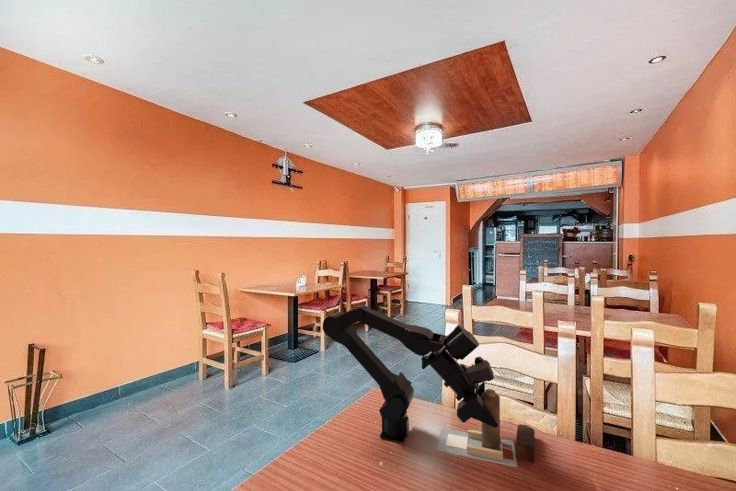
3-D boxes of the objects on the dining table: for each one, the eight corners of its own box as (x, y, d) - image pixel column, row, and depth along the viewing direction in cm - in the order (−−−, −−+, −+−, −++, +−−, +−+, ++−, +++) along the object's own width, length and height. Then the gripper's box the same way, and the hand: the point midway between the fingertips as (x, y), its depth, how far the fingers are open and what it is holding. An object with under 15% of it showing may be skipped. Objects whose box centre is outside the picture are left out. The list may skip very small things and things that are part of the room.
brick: (534, 468, 74) (534, 448, 74) (515, 463, 75) (515, 443, 75) (534, 442, 83) (534, 424, 83) (517, 438, 85) (517, 421, 85)
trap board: (436, 455, 78) (436, 443, 78) (441, 432, 88) (441, 422, 88) (517, 472, 72) (517, 460, 72) (513, 445, 82) (513, 434, 82)
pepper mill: (481, 451, 78) (481, 393, 77) (481, 441, 82) (481, 386, 81) (500, 455, 76) (500, 396, 76) (499, 445, 80) (499, 388, 80)
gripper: (471, 364, 71) (527, 422, 67) (474, 339, 89) (518, 385, 85) (436, 394, 74) (487, 452, 70) (445, 364, 91) (487, 409, 88)
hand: (496, 421), depth 78 cm, fingers closed on pepper mill, 4 cm apart
